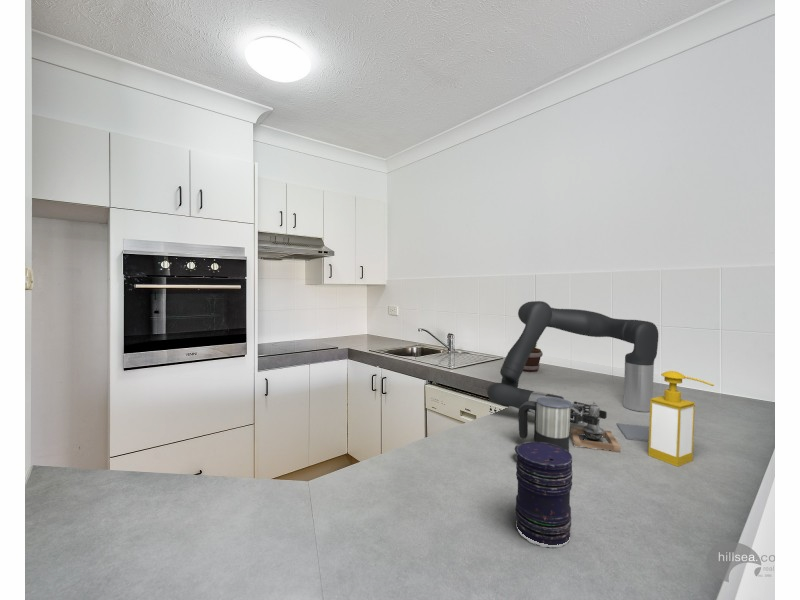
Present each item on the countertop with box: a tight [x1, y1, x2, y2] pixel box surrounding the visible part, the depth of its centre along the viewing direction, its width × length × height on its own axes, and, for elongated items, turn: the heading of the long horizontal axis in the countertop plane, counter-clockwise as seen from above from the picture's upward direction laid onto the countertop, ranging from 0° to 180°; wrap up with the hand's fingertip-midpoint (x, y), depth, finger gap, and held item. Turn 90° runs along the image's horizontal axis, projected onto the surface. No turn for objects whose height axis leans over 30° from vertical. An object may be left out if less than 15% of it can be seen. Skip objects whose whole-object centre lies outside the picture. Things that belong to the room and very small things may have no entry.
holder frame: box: [569, 426, 622, 453], centre depth 112 cm, size 12×12×2 cm
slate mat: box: [616, 422, 649, 442], centre depth 118 cm, size 12×12×1 cm
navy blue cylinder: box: [514, 441, 573, 545], centre depth 71 cm, size 10×10×15 cm
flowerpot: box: [522, 342, 543, 373], centre depth 205 cm, size 14×15×20 cm
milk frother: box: [514, 396, 573, 455], centre depth 100 cm, size 14×16×15 cm
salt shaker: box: [581, 401, 606, 442], centre depth 112 cm, size 6×6×12 cm
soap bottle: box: [647, 370, 715, 467], centre depth 98 cm, size 7×13×24 cm, turn 27°
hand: (601, 418), depth 110 cm, fingers open, 7 cm apart
